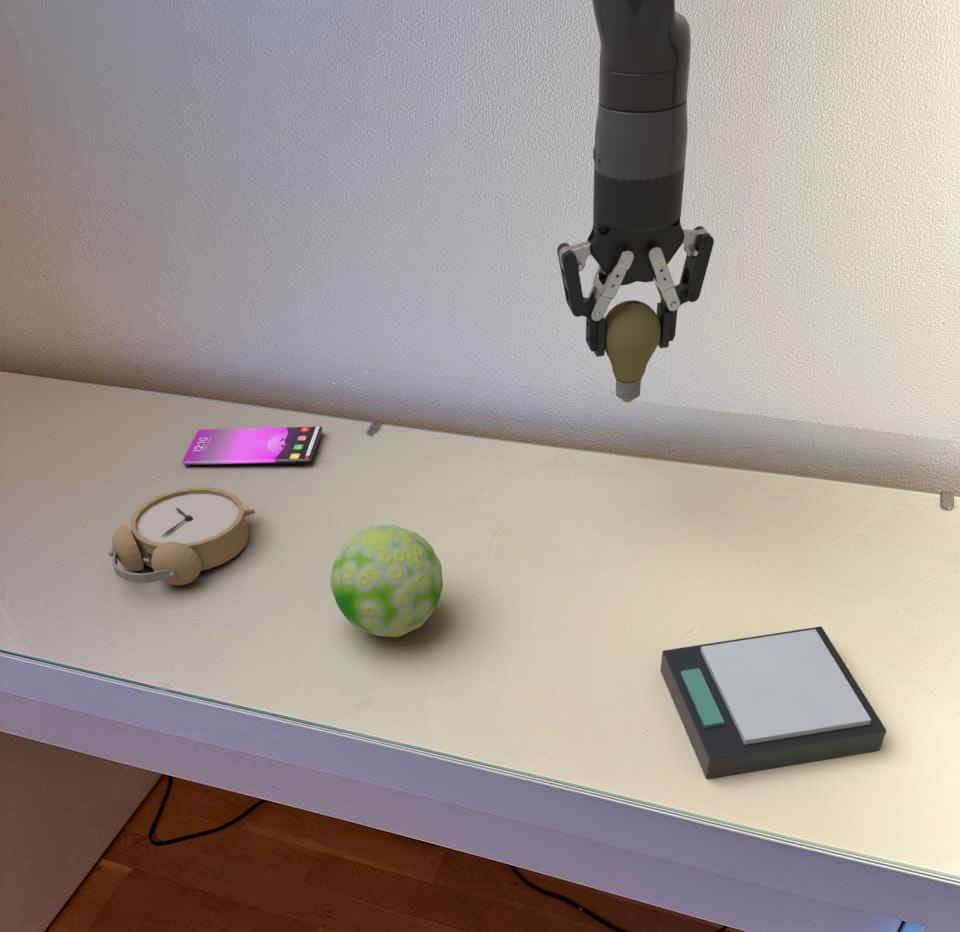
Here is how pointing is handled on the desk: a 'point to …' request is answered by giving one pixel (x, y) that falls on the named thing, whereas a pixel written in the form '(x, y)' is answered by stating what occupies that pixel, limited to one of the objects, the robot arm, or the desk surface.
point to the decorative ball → (386, 580)
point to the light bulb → (630, 344)
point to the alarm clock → (180, 535)
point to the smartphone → (253, 446)
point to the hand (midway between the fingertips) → (630, 347)
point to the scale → (769, 702)
